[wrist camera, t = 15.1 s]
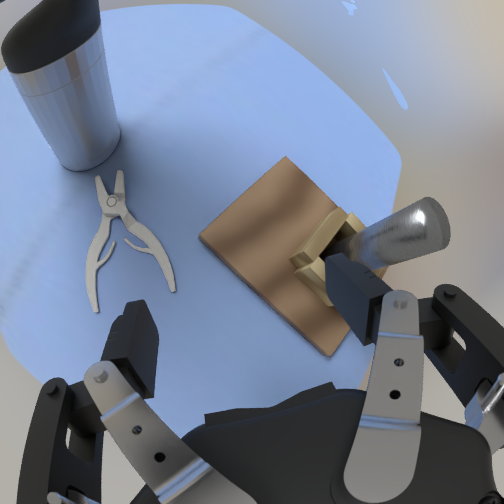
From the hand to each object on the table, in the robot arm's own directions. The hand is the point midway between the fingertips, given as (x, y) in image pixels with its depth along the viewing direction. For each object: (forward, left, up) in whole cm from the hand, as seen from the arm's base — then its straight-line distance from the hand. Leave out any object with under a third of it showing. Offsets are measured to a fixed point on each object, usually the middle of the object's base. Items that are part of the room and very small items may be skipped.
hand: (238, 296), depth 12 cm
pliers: (-12, -1, -18) cm, 22 cm away
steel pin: (+8, +13, -16) cm, 22 cm away
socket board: (+4, +12, -18) cm, 22 cm away
